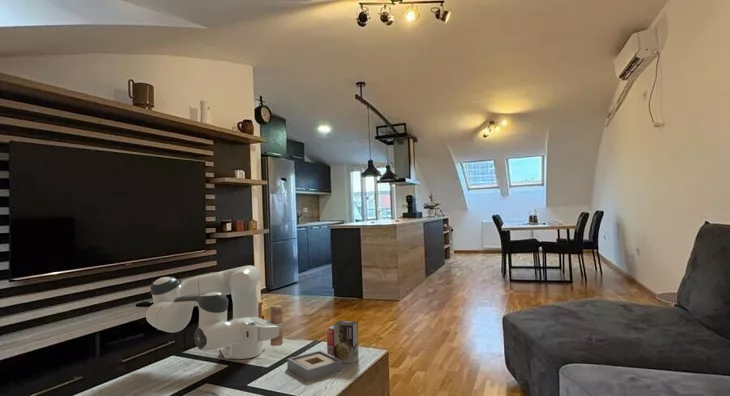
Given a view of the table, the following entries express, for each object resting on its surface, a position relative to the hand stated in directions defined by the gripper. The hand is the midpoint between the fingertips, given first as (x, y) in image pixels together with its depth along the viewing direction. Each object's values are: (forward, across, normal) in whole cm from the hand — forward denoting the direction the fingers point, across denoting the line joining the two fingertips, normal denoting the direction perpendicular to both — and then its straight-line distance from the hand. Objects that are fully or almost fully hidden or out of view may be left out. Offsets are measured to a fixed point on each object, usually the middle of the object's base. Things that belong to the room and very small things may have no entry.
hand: (278, 323), depth 155 cm
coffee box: (+32, 0, -22) cm, 39 cm away
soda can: (+33, -10, -22) cm, 41 cm away
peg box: (+16, 0, -21) cm, 27 cm away
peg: (-1, 0, -8) cm, 8 cm away
